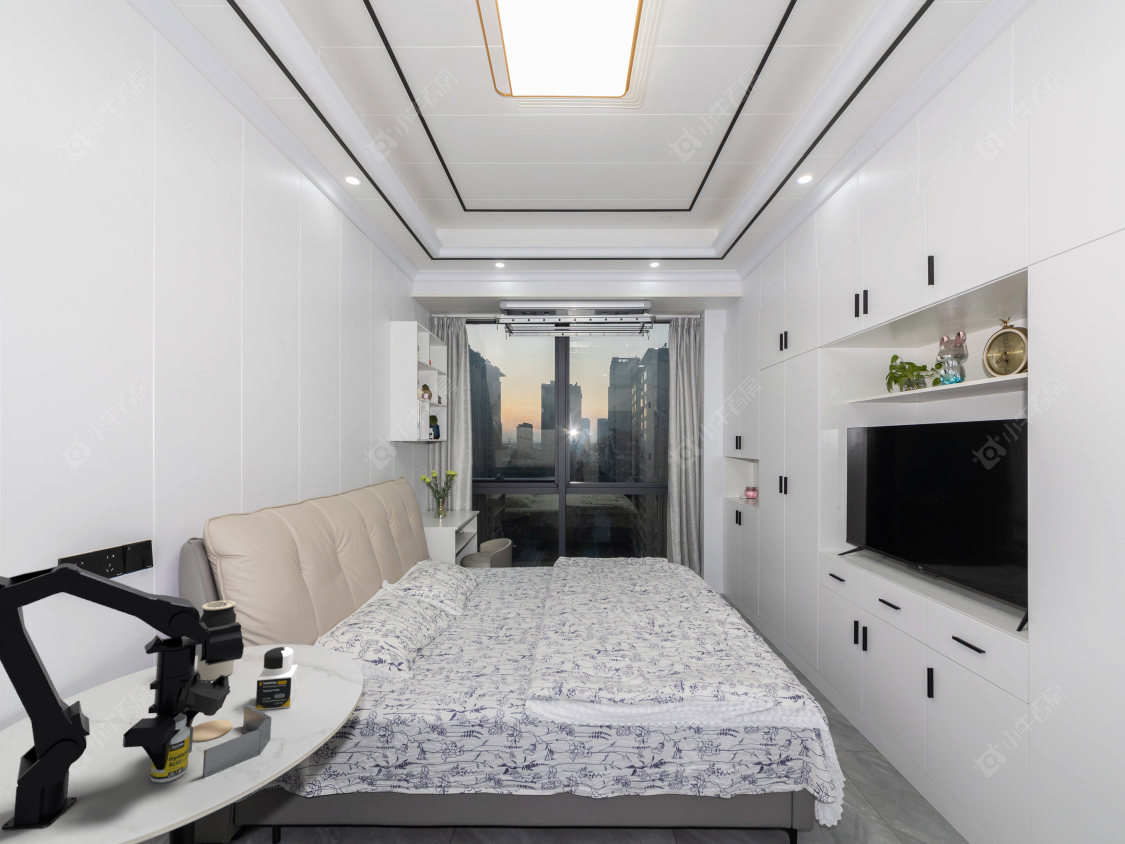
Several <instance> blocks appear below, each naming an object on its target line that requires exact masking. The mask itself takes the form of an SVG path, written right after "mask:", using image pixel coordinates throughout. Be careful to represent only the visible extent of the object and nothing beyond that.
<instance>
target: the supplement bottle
mask: <svg viewBox="0 0 1125 844" xmlns="http://www.w3.org/2000/svg"><path fill="white" fill-rule="evenodd" d="M186 719H187V716H186V715H185V714H180V715H179V716H178V717H177V718H176V719H175V722H176V728H175V730H179V729H181V730H180V731H179V732H178V733H177V734H176V735H175V736H174V737H173V738H172V739H171V744H170V749H169V754H168V759H167V763H166V767H165V769H164V770H157V769H156V767H155V766H154V764H153V762H152V761H151V765H150V766H151V767H150V768H151V769H150V780H151V781H152V782H153V783H168V782H172V781H174V780H177V779H178V778H180V777H182V776H183V775H184V774H185V773H186V772H187V770H188V765H189V740H190V729H189V728H188V727H186V726H185V725H186Z"/></svg>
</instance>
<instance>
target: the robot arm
mask: <svg viewBox="0 0 1125 844" xmlns="http://www.w3.org/2000/svg"><path fill="white" fill-rule="evenodd" d="M61 593H63V594H64V593H65V594H68V595H70V596H74V597H77V598H79V599H82V600H86V601H88V602H91V603H95V604H97V605H101V606H103V607H106V608H110V609H112V610H115V611H118V612H121V613H124V614H127V615H130V616H132V617H135V618H137V619H139V620H141V621H142V622H144V623H145V624H146V625H148V626H150V627H151V628H153V629H154V630H157V631H158V632H159V633H161V634H163V635H164V636H167V638H162V637H160V636H159V635H155V636H154V637H153V638H152V640H150V641H149V642H148V643H147V644H145V645H144V647H143V648H144V650H145V653H146V655H152V654H156V655H157V656H156V672H155V680H153V681H152V682H150V683H149V691H152V690H153V691H154V703H153V704H152V705H150V706H149V707H148V708H147V709H148V714H156V716H155V717H147V718H145V717H144V718H141V719H139V721H137V722H136V723H134V724H133V726H131V727H130V728H129V729H128V730H126V731H125V733H124V734H123V738H122V747H123V748H138V747H141V748H142V749H143V750H144V751H145V753H146V754H147V756H148V757H149V759H150V760H151V761H150V762H151V763H152V762H153V764H154V766H155V767H156V769H157V770H164V769H165V767H166V763H167V759H168V754H169V749H170V744H171V739H172V738H173V737H174V736H175V735H176V734H177V733H178V732H179V731H180V730H181V729H179V730H175V728H176V722H175V719H176V718H177V717H178V716H179V715H180V714H185V715H186V716H187V719H186V725H185V726H186V727H188V728H189V729H190V727H191V726H192V725H193V722H194V719H195V718H196V716H197V715H198V714H199V713H201V714H203V715H204V716H207V717H212V716H214V715H216V713H217V712H218V711H219V710H220V709H221V708H222V707H223V706H224V703H225V701H226V699H227V696H228V695H229V694H230V693H231V690H230V689H231V686H230V683H229V676H224V675H220V676H219V677H218V678H217V679H216V680H208V681H205V680H201V679H200V677H201V674H199V671H197V670H196V671H195V667H196V665H195V664H196V651H197V659H198V658H199V661H204V660H205V664H206V666H209V665H213V664H218V663H223V662H227V661H232V660H234V661H237V660H240V659H242V657H243V656H244V648H245V647H244V646H245V643H244V642H243V633H242V624H241V623H239V622H238V621H236V623H231V624H228V625H224V626H219V627H213V628H207V626H206V625H205V623H204V622H200V618H201V616H200V611H199V609H197V607H196V606H195V604H194V603H193V602H192V601H191V600H189V599H186V598H182V597H179V596H178V597H176V596H171V595H167V594H166V595H165V594H155V593H150V592H146V591H143V590H140V589H138V588H135V587H132V586H129V585H127V584H124V583H121V582H118V581H116V580H113V579H111V578H108V577H106V576H105V577H104V576H103V575H102V576H101V575H99V574H96V573H94V572H92V571H88V570H86V569H83V568H80V567H79V566H78V565H77V564H74V563H61V564H58V565H55V566H52V567H48V568H45V569H44V568H43V569H40V570H39V569H38V570H34V571H31V572H30V571H29V572H25V573H22V574H21V573H20V574H17V575H13V576H9V577H7V576H0V663H1V665H2V667H3V669H4V671H5V673H6V674H7V676H8V678H9V681H10V683H11V684H12V687H13V688H14V690H15V692H16V694H17V696H18V698H19V700H20V702H21V705H22V706H23V708H24V710H25V712H26V714H27V716H28V718H29V720H30V724H31V731H32V739H33V744H34V745H33V746H32V747H30V748H29V749H28V750H27V751H26V752H25V753H24V754H23V755H22V756H20V760H19V761H20V762H19V768H18V775H17V780H16V784H17V786H16V788H15V800H14V801H15V802H14V813H13V816H12V817H11V818H10V819H8V820H7V821H6V822H5V823H3V824H2V825H1V831H2V830H3V831H5V830H7V831H8V830H17V829H30V828H40V827H47V826H50V825H52V824H53V823H54V822H55V821H56V820H57V819H58V818H59V817H60V816H61V815H63V814H64V813H65V812H66V811H67V810H68V809H70V808H71V807H72V806H73V805H74V804H75V803H77V801H78V797H77V796H68V793H69V780H70V768H71V766H72V764H74V763H75V762H76V761H79V759H80V758H81V757H82V756H83V754H84V752H85V751H86V748H87V744H88V743H87V741H88V740H87V737H88V736H90V734H91V732H90V718H89V717H88V716H86V715H85V714H84V712H83V711H82V706H81V701H80V700H77V701H76V702H74V703H73V704H71V705H69V704H67V703H66V702H65V701H63V699H62V698H61V697H60V695H59V693H58V691H57V690H58V689H56V686H55V685H54V683H53V680H52V679H51V676H50V674H49V671H47V668H46V666H45V664H44V662H43V660H42V658H41V656H40V654H39V652H38V650H37V648H36V646H35V644H34V642H33V640H32V637H31V636H30V633H29V632H28V630H27V627H26V625H25V618H24V610H23V607H24V606H27V605H30V604H33V603H36V602H38V601H41V600H43V599H47V598H49V597H51V596H53V595H57V594H61ZM183 637H186V638H183Z"/></svg>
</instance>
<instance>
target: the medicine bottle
mask: <svg viewBox="0 0 1125 844" xmlns="http://www.w3.org/2000/svg"><path fill="white" fill-rule="evenodd" d="M297 681H298V664H294V650H293V649H292V648H291V647H288V646H278V647H274V648H271V649H270V650H268V651H266V652H265V653H264V655H263V670H262V671H261V673H260V674H259V676H258V677H257V679H256V693H255V708H256V709H258V710H260V711H267V710H278V709H287V708H290V707H291V705H292V703H293V702H294V699H295V697H296V695H297V683H298V682H297Z"/></svg>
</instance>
